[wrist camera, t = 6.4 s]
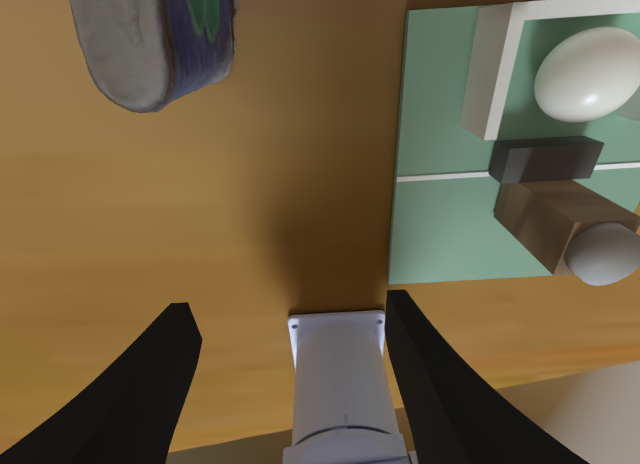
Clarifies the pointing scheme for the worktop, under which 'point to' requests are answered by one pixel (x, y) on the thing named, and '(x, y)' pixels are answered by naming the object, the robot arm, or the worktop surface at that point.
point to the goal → (500, 52)
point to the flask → (155, 47)
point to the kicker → (563, 209)
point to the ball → (589, 74)
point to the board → (482, 149)
